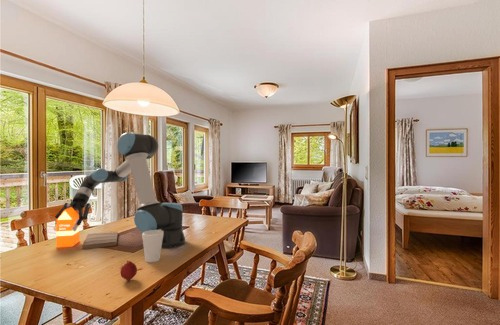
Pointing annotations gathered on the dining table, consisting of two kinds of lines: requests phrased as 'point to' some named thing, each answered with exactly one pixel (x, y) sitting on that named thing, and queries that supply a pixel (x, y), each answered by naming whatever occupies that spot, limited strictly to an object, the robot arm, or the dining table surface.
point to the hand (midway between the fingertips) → (64, 230)
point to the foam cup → (152, 244)
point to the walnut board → (100, 240)
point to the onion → (128, 270)
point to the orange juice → (67, 229)
